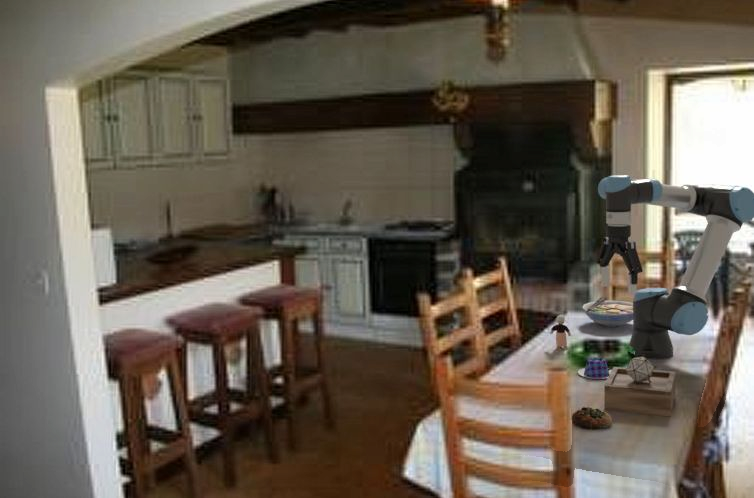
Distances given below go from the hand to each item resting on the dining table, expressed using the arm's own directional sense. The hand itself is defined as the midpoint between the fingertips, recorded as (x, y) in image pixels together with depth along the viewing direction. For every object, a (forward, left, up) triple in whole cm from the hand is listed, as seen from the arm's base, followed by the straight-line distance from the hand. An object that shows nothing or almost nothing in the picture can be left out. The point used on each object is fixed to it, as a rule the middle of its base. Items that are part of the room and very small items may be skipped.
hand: (618, 290), depth 248 cm
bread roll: (+31, +28, -29) cm, 51 cm away
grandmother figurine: (-1, -35, -29) cm, 45 cm away
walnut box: (+9, +22, -29) cm, 37 cm away
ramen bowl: (-36, -52, -29) cm, 70 cm away
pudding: (+5, -5, -29) cm, 30 cm away
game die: (+9, +22, -23) cm, 33 cm away
